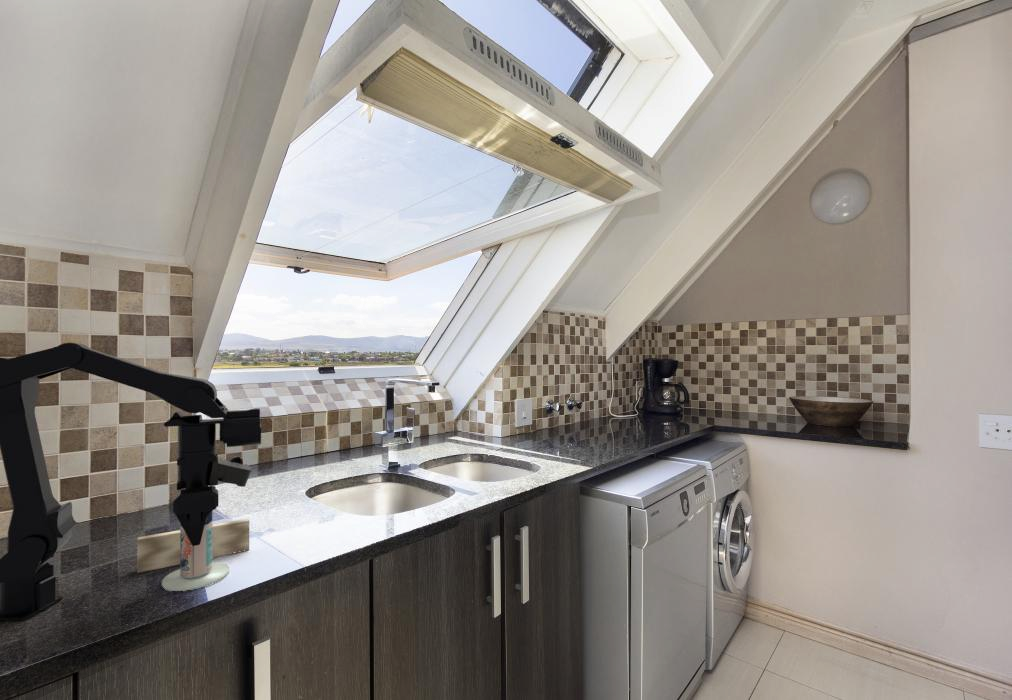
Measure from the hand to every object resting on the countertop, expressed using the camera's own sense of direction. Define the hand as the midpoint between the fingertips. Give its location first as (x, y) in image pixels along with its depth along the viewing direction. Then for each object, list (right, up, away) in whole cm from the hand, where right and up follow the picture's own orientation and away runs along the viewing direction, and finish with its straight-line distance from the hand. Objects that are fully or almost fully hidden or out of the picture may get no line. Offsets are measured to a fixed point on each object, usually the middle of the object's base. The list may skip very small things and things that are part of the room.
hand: (196, 537), depth 84 cm
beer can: (0, -7, 0) cm, 7 cm away
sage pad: (0, -7, 0) cm, 7 cm away
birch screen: (-5, -7, +7) cm, 12 cm away
